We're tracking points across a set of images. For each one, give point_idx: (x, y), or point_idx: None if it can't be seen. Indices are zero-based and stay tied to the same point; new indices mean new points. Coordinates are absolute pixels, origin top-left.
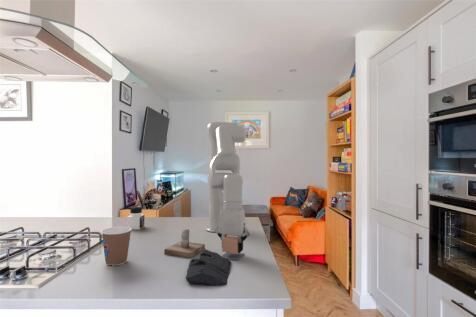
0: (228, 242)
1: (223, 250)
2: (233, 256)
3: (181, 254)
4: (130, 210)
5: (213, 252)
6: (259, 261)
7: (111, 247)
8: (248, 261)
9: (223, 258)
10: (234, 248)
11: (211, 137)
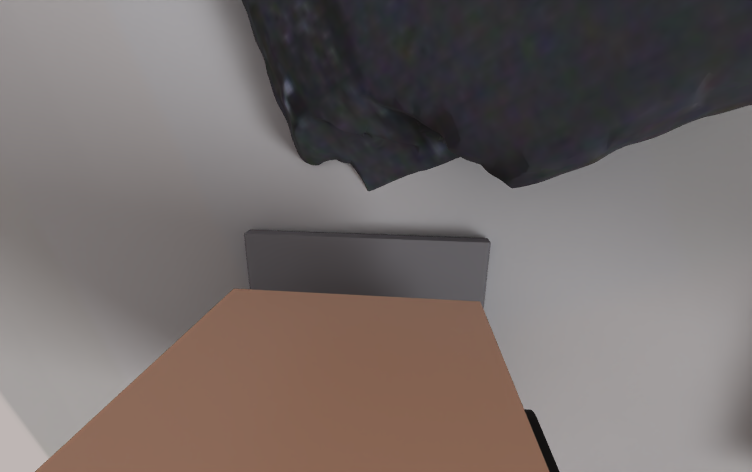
0: (338, 414)
1: (461, 310)
2: None
3: None
4: None
5: (610, 97)
6: (40, 291)
7: None
8: (134, 254)
9: (363, 60)
10: (235, 327)
11: None
